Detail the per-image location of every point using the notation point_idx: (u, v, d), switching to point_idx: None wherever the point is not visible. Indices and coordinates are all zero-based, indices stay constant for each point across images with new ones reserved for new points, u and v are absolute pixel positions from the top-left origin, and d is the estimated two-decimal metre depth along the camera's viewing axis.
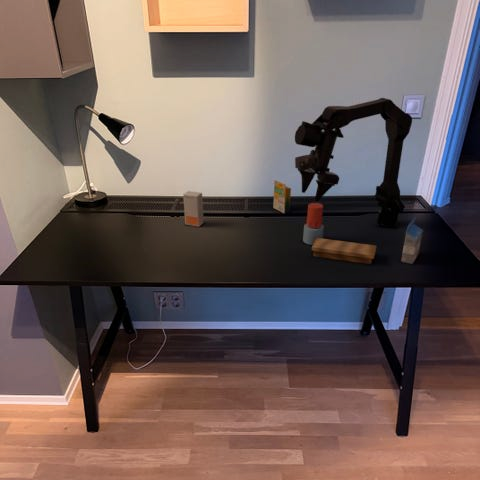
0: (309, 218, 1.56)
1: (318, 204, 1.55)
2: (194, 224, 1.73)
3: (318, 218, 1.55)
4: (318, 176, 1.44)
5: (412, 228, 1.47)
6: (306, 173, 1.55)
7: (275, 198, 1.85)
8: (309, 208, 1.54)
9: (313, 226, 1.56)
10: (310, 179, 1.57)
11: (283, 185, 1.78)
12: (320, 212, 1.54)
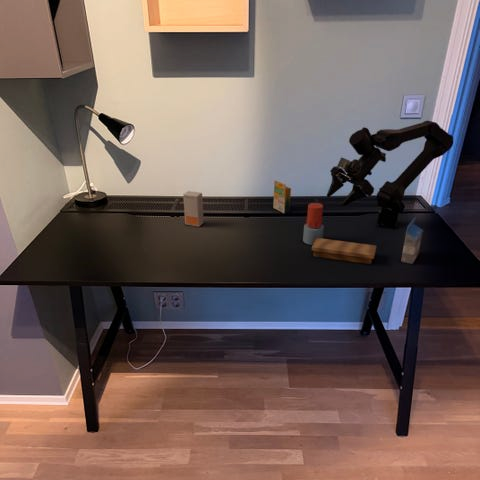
0: (309, 218, 1.56)
1: (318, 204, 1.55)
2: (194, 224, 1.73)
3: (318, 218, 1.55)
4: (358, 180, 1.49)
5: (412, 228, 1.47)
6: (337, 180, 1.59)
7: (275, 198, 1.85)
8: (309, 208, 1.54)
9: (313, 226, 1.56)
10: (338, 188, 1.61)
11: (283, 185, 1.78)
12: (320, 212, 1.54)
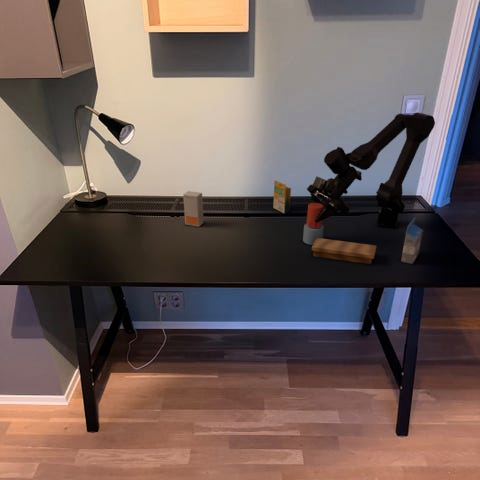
0: (309, 218, 1.56)
1: (318, 204, 1.55)
2: (194, 224, 1.73)
3: None
4: (333, 200, 1.49)
5: (412, 228, 1.47)
6: (317, 200, 1.58)
7: (275, 198, 1.85)
8: (309, 208, 1.54)
9: (313, 226, 1.56)
10: None
11: (283, 185, 1.78)
12: None
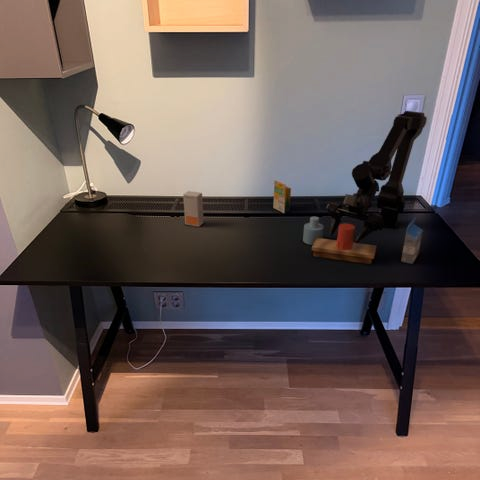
0: (342, 240, 1.47)
1: (347, 224, 1.47)
2: (194, 224, 1.73)
3: (352, 239, 1.47)
4: (370, 216, 1.42)
5: (412, 228, 1.47)
6: (337, 216, 1.50)
7: (275, 198, 1.85)
8: (342, 230, 1.45)
9: (347, 248, 1.48)
10: (337, 225, 1.52)
11: (283, 185, 1.78)
12: (353, 232, 1.46)
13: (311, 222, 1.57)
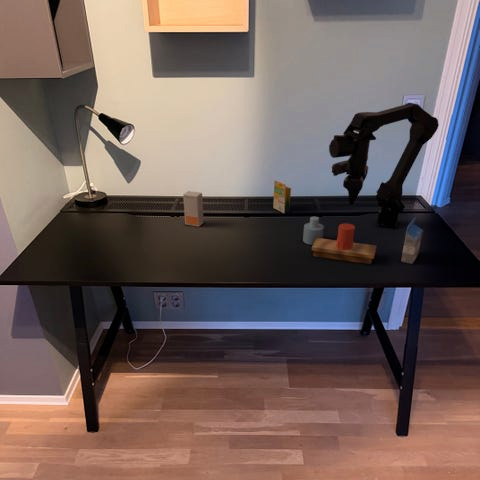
0: (342, 240, 1.47)
1: (347, 224, 1.47)
2: (194, 224, 1.73)
3: (352, 239, 1.47)
4: None
5: (412, 228, 1.47)
6: None
7: (275, 198, 1.85)
8: (342, 230, 1.45)
9: (347, 248, 1.48)
10: None
11: (283, 185, 1.78)
12: (353, 232, 1.46)
13: (311, 222, 1.57)
